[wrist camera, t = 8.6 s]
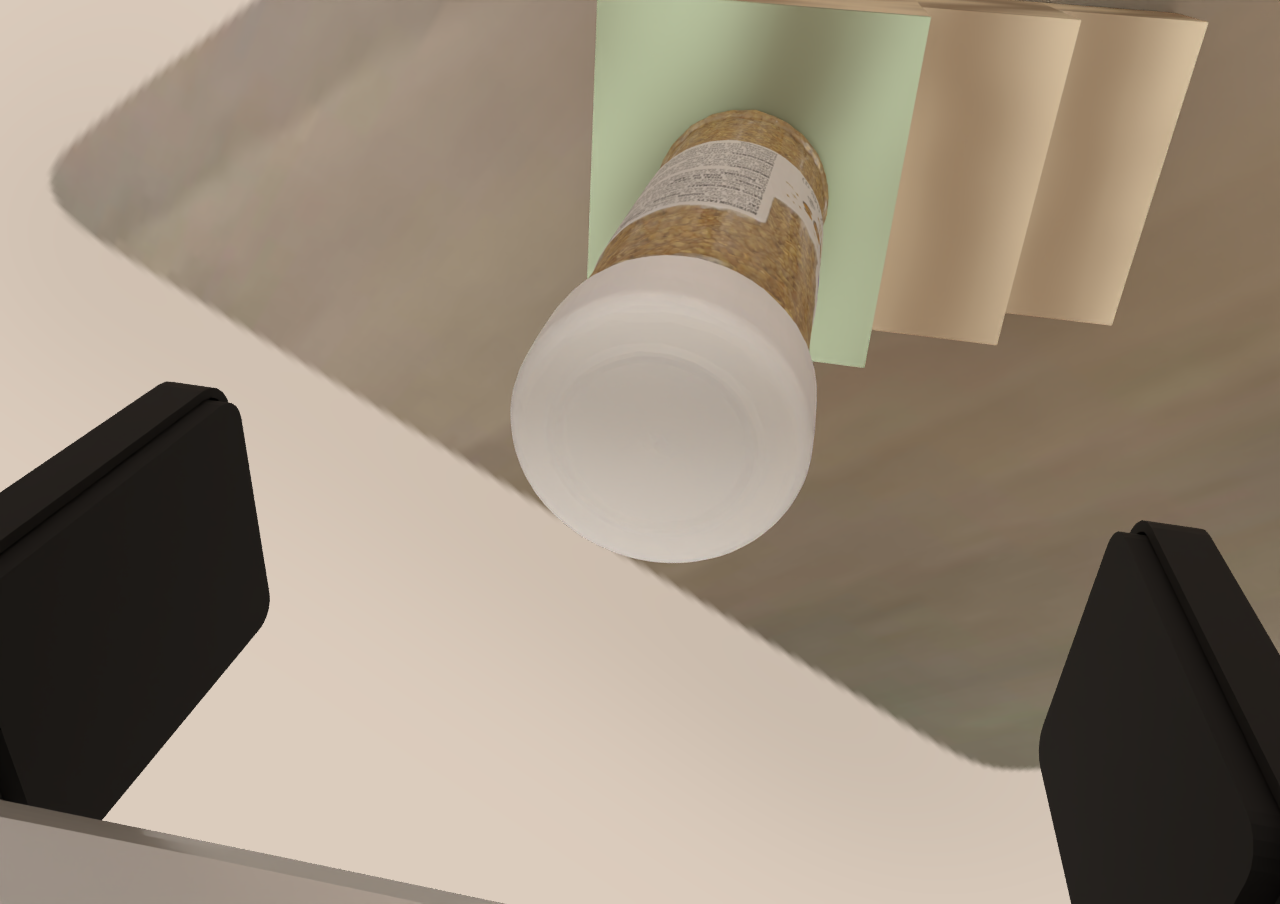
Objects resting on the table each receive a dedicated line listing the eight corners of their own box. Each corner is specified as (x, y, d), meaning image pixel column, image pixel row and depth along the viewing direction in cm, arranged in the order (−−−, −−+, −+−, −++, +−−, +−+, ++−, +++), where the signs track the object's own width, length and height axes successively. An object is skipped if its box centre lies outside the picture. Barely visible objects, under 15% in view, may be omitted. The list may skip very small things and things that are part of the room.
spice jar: (821, 281, 26) (800, 590, 15) (655, 272, 27) (512, 559, 16) (838, 105, 24) (828, 310, 13) (655, 99, 25) (489, 289, 13)
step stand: (1176, 13, 30) (1295, 47, 22) (1086, 307, 34) (1158, 422, 26) (657, -28, 32) (597, -10, 24) (639, 256, 36) (584, 348, 28)
